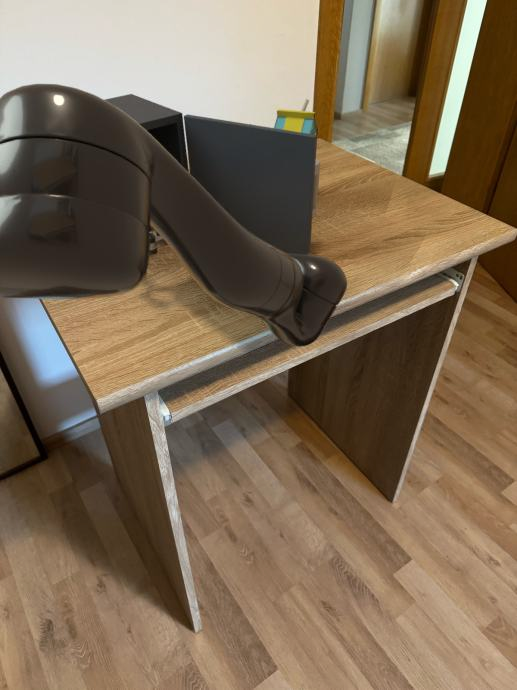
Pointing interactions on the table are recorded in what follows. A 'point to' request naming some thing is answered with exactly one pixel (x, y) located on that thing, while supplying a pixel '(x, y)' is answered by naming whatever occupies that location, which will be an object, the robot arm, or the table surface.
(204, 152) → the cupboard door
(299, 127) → the carton
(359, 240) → the table surface
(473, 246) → the table surface
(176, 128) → the cupboard
